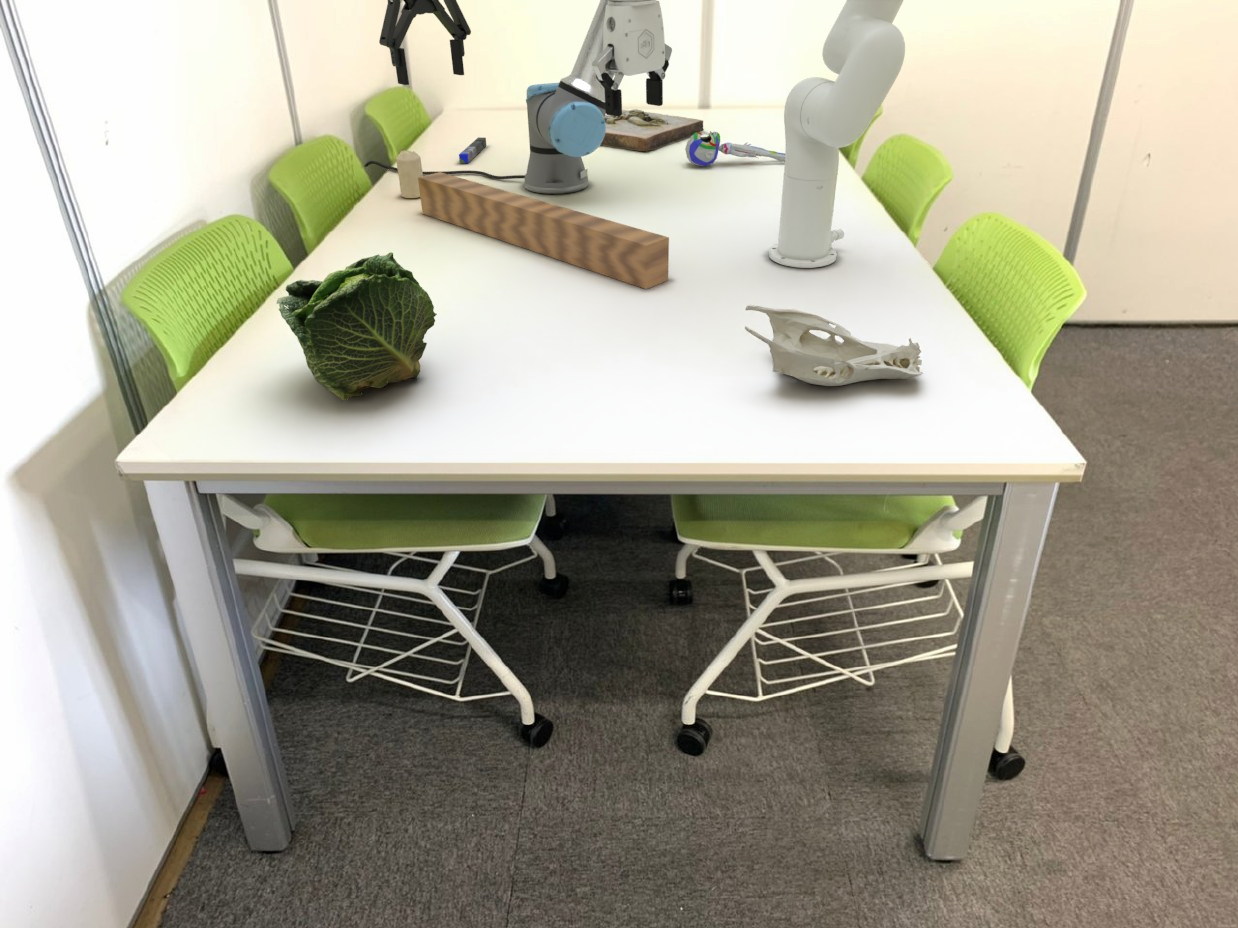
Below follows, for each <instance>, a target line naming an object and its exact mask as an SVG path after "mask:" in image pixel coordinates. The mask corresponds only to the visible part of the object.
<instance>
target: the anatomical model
mask: <svg viewBox="0 0 1238 928" xmlns="http://www.w3.org/2000/svg"><path fill="white" fill-rule="evenodd" d="M745 311H755V312H761V313H764V314H765V315H766V316H768V318H769V319H768V320H769V323H770V326H771V329H772V334H773V335H772V336H773V337H772V340H770V339H768V338H767V337H765V336H763V335H762V334H760V333H758V332H757V331H755V330H754V329H752V328H750V327H749V326H746V325H745V326H744V330H746V332H748V333H749V334H751V335H752V336H754V337H756V338H757V339H759V340H760V341H761V342H763V343H765V344H766V345H768V347H769V352H770V356H771V359H772V372H774V373H778V374H784V375H787V376H791V377H793V378H795V379H798V380H799V381H802V382H805V383H807V384H810V385H811V384H812V385H816V386H817V385H818V386H824V387H838V386H844V385H850V384H853V383H858V382H863V381H864V382H865V381H872V380H880V379H881V380H882V379H888V380H889V379H890V380H901V379H902V380H904V379H905V380H907V379H913V378H916V377H920V376H922V375H924V372H923V371H920V370H921V369H920V368H921V367H920V366H922V365H923V360H922V359H920V358H921V355H920V354H921V353H922V350H921V347H920V344H919V342H913V341H912V338H911V337H910V338H909V339H908V342H909V344H908V345H904V344H902V345H900V346H897V345H893V344H890V343H880V342H872V341H865V340H861V339H859V338H857V337H855V336H853V335H852V334H851V332H850V331H849V330H848V329H846V328H845V327H844V326H842V325H840V324H838V323H836V322H834V321H832V320H829V319H827V318H825V317H822V316H819V315H817V314H813V313H809V312H807V311H806V312H805V311H802V310H798V309H794V308H791V309H790V308H789V309H787V308H771V307H765V306H761V305H755V304H753V305H752V304H749V305H746V307H745ZM830 324H831V325H833V326H835V327H833V326H831V325H830ZM810 331H820V332H823V333H826V334H828V335H829V336H828V337H827V338H824V337H823V338H822V337H820V336H817V335H815V334H813V333H812V332H810ZM836 336H837V337H839V338H841V339H842V340H843V341H842V342H841V341H839V340H837V339H836Z"/></svg>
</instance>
